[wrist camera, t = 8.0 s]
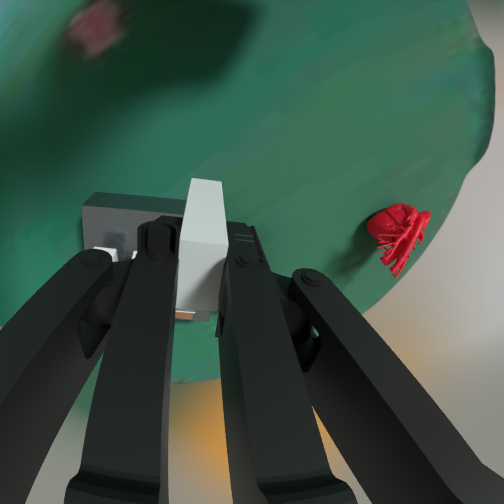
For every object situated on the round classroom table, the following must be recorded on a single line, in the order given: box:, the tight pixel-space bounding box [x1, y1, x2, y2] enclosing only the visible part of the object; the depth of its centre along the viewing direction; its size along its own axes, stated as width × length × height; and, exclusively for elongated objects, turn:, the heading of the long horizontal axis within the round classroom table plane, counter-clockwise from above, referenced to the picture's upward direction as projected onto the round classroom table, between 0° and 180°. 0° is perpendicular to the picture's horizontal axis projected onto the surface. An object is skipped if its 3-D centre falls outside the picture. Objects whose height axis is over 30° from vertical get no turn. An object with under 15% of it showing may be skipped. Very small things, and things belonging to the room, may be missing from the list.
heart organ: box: [367, 203, 431, 279], centre depth 46 cm, size 10×12×12 cm
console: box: [82, 192, 211, 322], centre depth 45 cm, size 19×21×9 cm
